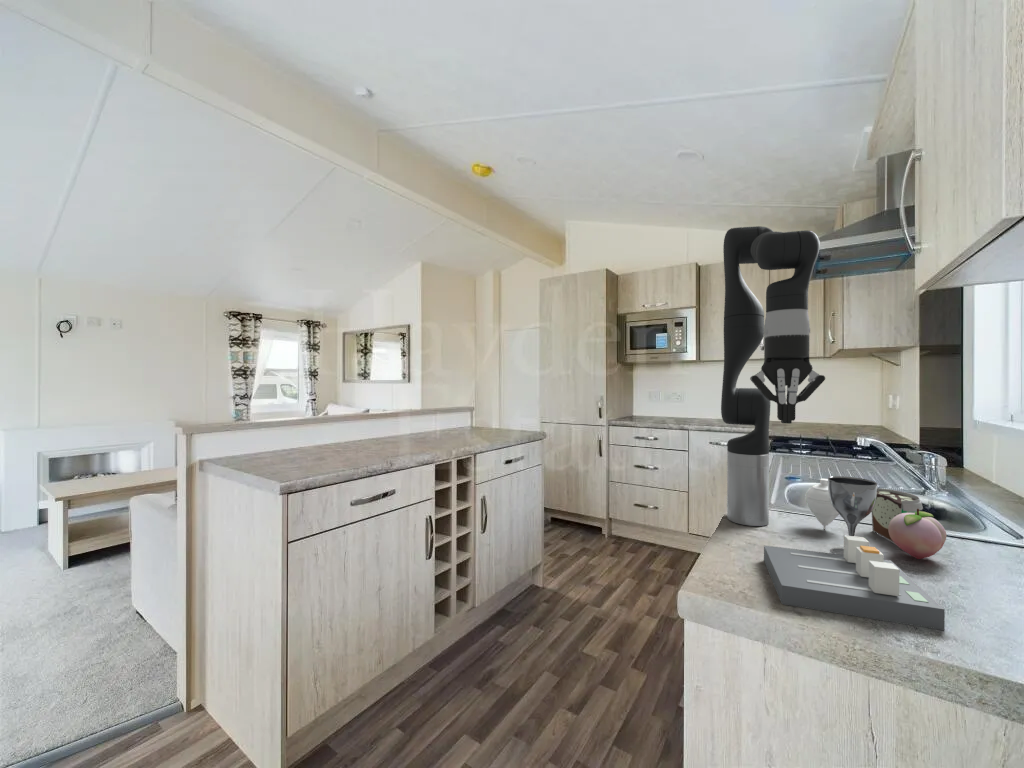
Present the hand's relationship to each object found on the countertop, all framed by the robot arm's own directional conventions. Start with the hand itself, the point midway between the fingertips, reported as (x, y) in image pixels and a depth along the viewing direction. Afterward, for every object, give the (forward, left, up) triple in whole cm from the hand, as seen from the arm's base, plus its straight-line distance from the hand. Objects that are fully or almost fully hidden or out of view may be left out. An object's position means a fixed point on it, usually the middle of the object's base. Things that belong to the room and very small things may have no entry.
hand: (786, 423), depth 87 cm
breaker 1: (+5, +10, -24) cm, 26 cm away
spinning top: (-23, +12, -27) cm, 38 cm away
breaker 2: (+17, +10, -24) cm, 31 cm away
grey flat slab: (+11, +6, -27) cm, 30 cm away
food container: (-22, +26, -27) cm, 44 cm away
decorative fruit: (-10, +24, -27) cm, 38 cm away
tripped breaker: (+11, +10, -24) cm, 28 cm away
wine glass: (-8, +13, -27) cm, 31 cm away
